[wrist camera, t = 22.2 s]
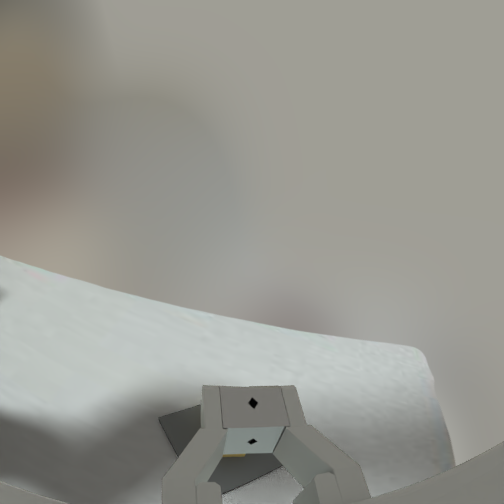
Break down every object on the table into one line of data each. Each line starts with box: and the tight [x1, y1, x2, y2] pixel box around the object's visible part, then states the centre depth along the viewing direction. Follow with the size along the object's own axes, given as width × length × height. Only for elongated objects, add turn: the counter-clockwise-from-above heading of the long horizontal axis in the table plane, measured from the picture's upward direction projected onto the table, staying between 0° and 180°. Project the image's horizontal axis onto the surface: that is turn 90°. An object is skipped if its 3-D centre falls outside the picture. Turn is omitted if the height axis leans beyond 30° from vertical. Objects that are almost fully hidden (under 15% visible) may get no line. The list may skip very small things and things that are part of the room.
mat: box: [159, 405, 282, 494], centre depth 38 cm, size 15×14×1 cm
